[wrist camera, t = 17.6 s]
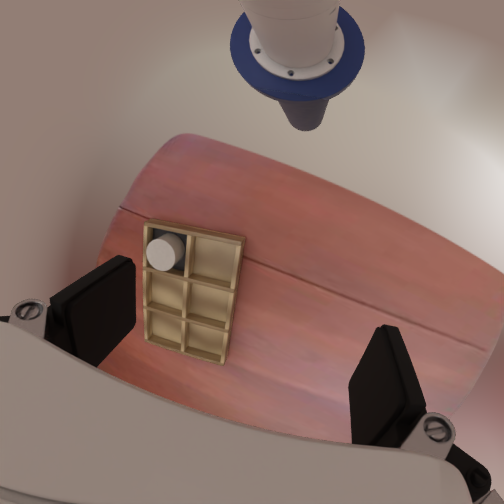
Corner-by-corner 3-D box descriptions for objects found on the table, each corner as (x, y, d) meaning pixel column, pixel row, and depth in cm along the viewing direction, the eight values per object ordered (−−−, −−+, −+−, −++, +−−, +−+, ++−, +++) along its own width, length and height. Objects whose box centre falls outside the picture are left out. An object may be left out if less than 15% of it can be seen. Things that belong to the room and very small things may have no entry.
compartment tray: (151, 218, 40) (144, 221, 38) (245, 237, 38) (241, 241, 36) (150, 334, 46) (144, 341, 44) (227, 358, 45) (223, 366, 43)
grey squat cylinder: (158, 230, 39) (146, 236, 36) (186, 236, 39) (176, 242, 36) (156, 259, 41) (145, 267, 38) (183, 266, 40) (174, 274, 37)
